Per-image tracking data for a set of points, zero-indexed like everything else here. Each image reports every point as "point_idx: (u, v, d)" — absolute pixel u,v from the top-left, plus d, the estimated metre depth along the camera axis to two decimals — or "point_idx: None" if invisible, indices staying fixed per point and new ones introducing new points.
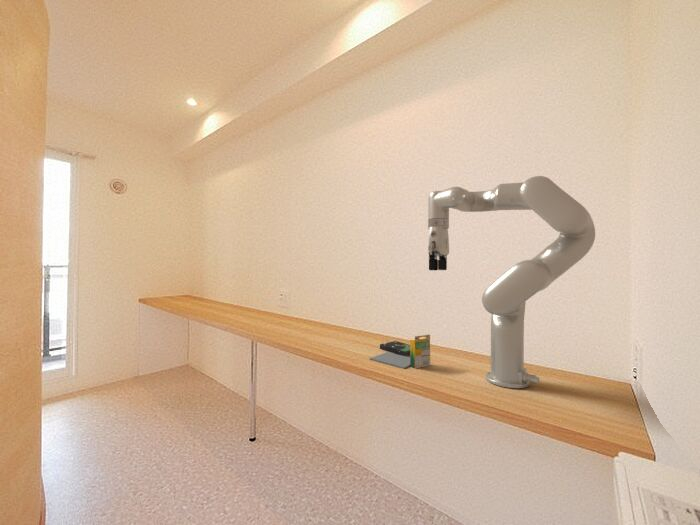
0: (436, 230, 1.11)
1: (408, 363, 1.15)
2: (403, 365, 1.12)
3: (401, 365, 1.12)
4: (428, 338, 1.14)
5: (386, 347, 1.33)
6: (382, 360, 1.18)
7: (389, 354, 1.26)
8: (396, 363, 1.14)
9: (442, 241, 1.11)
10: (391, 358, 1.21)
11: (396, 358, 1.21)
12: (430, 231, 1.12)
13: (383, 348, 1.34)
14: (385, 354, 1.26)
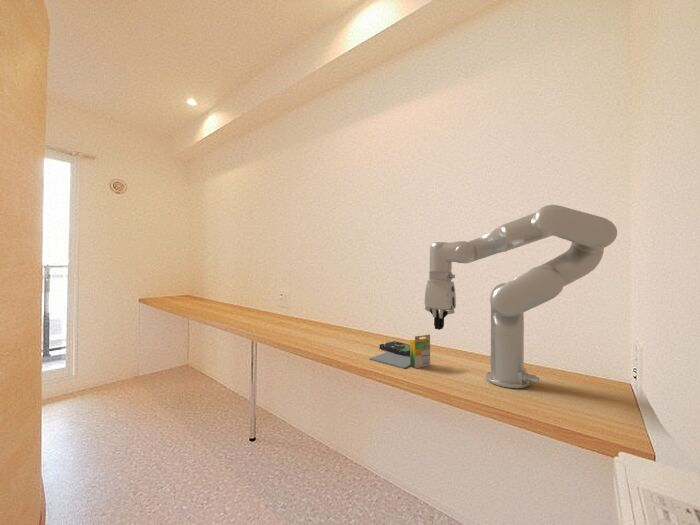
0: (453, 285, 1.06)
1: (408, 363, 1.15)
2: (403, 365, 1.12)
3: (401, 365, 1.12)
4: (428, 338, 1.13)
5: (386, 347, 1.33)
6: (382, 360, 1.18)
7: (389, 354, 1.26)
8: (396, 363, 1.14)
9: None
10: (391, 358, 1.21)
11: (396, 358, 1.21)
12: (450, 286, 1.04)
13: (383, 348, 1.34)
14: (385, 354, 1.26)
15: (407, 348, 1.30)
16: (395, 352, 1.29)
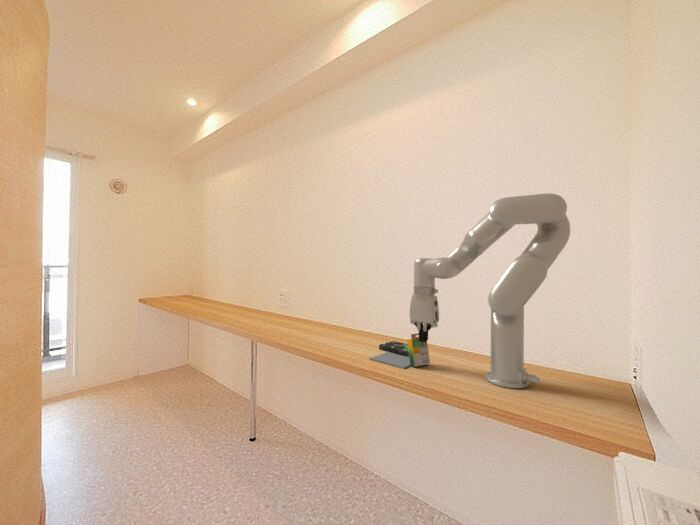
0: (436, 299, 1.10)
1: (408, 363, 1.15)
2: (403, 365, 1.12)
3: (401, 365, 1.12)
4: None
5: (386, 347, 1.33)
6: (382, 360, 1.18)
7: (389, 354, 1.26)
8: (396, 363, 1.14)
9: None
10: (391, 358, 1.21)
11: (396, 358, 1.21)
12: (433, 300, 1.09)
13: (383, 348, 1.34)
14: (385, 354, 1.26)
15: (407, 348, 1.30)
16: (395, 352, 1.29)
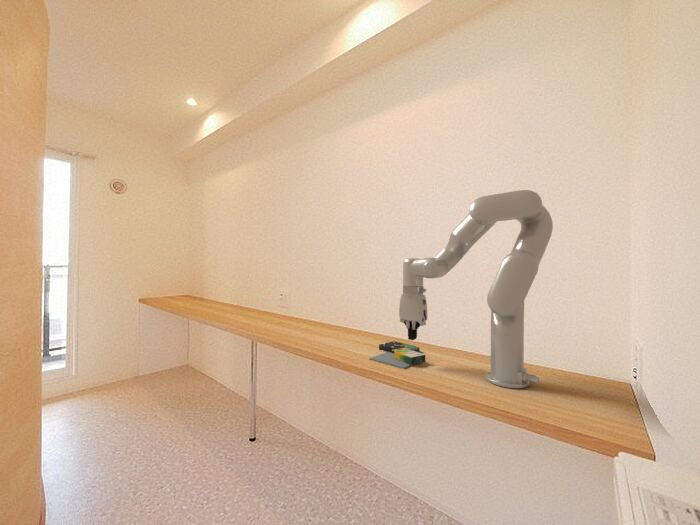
0: (425, 298, 1.13)
1: None
2: (403, 365, 1.12)
3: (401, 365, 1.12)
4: (405, 348, 1.25)
5: (386, 347, 1.32)
6: (382, 360, 1.18)
7: (389, 354, 1.26)
8: (396, 363, 1.14)
9: None
10: (391, 358, 1.21)
11: None
12: (421, 299, 1.12)
13: (382, 348, 1.34)
14: (385, 354, 1.26)
15: (407, 348, 1.30)
16: None
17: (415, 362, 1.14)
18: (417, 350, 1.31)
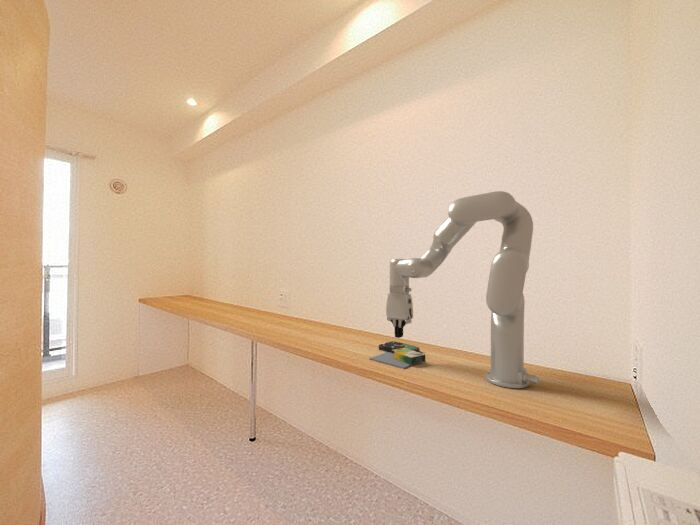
0: (410, 297, 1.18)
1: None
2: (403, 365, 1.12)
3: (401, 365, 1.12)
4: (405, 348, 1.25)
5: (386, 348, 1.32)
6: (382, 360, 1.18)
7: (389, 354, 1.26)
8: (396, 363, 1.14)
9: None
10: (391, 358, 1.21)
11: None
12: (406, 298, 1.16)
13: (382, 349, 1.34)
14: (385, 354, 1.26)
15: (407, 348, 1.30)
16: None
17: (415, 362, 1.14)
18: (417, 350, 1.31)
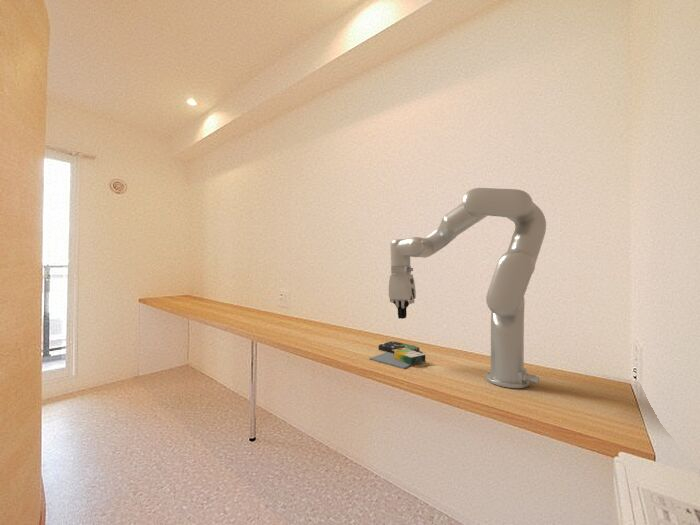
0: (412, 277, 1.17)
1: None
2: (403, 365, 1.12)
3: (401, 365, 1.12)
4: (405, 348, 1.25)
5: (386, 348, 1.32)
6: (382, 360, 1.18)
7: (389, 354, 1.26)
8: (396, 363, 1.14)
9: None
10: (391, 358, 1.21)
11: None
12: (408, 278, 1.16)
13: (382, 349, 1.33)
14: (385, 354, 1.26)
15: (407, 348, 1.30)
16: None
17: (415, 362, 1.14)
18: (417, 350, 1.31)
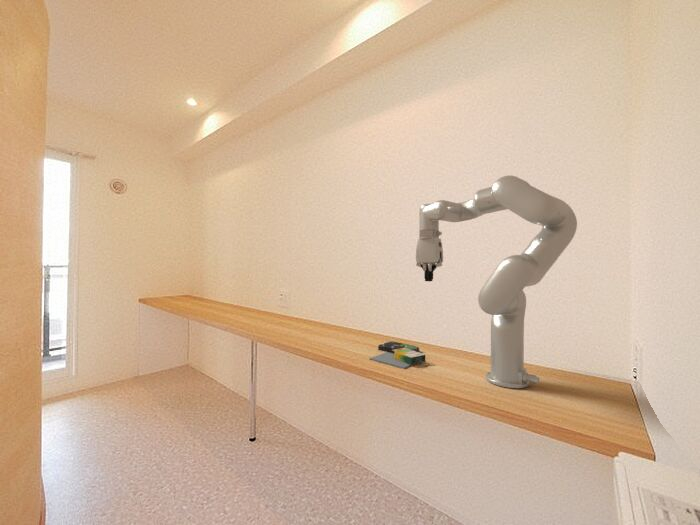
0: (440, 241, 1.20)
1: None
2: (403, 365, 1.12)
3: (401, 365, 1.12)
4: (405, 348, 1.25)
5: (386, 348, 1.32)
6: (382, 360, 1.18)
7: (389, 354, 1.26)
8: (396, 363, 1.14)
9: None
10: (391, 358, 1.21)
11: None
12: (437, 241, 1.19)
13: (382, 349, 1.33)
14: (385, 354, 1.26)
15: (407, 348, 1.30)
16: None
17: (415, 362, 1.14)
18: (417, 350, 1.31)
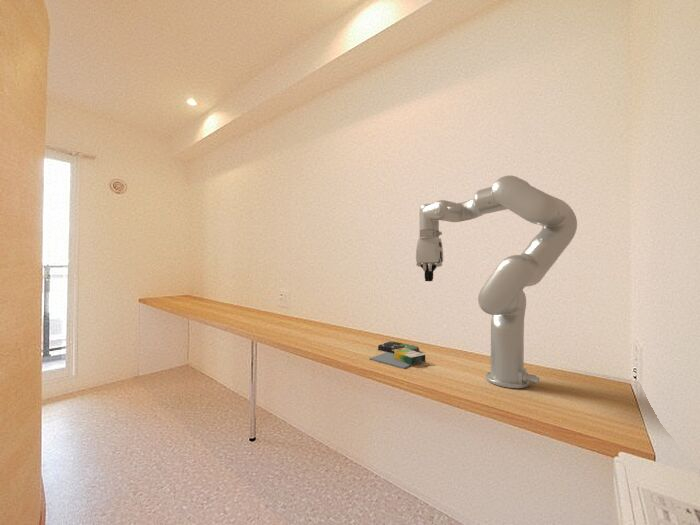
0: (441, 241, 1.20)
1: None
2: (403, 365, 1.12)
3: (401, 365, 1.12)
4: (405, 348, 1.25)
5: (386, 348, 1.32)
6: (382, 360, 1.18)
7: (389, 354, 1.26)
8: (396, 363, 1.14)
9: None
10: (391, 358, 1.21)
11: None
12: (437, 241, 1.19)
13: (382, 349, 1.33)
14: (385, 354, 1.26)
15: (407, 348, 1.30)
16: None
17: (415, 362, 1.14)
18: (417, 350, 1.31)
